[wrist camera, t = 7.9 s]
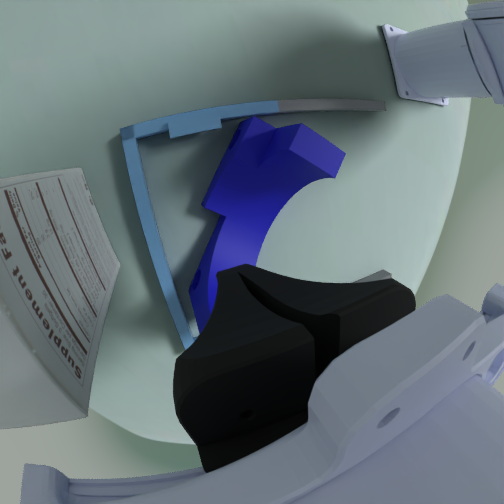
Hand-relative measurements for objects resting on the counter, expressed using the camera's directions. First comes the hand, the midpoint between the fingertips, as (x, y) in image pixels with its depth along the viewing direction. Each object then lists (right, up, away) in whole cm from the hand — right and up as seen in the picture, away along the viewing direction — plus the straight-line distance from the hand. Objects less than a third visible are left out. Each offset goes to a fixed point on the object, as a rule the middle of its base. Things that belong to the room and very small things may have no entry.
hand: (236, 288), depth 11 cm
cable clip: (-1, +4, +7) cm, 8 cm away
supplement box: (-12, +3, +3) cm, 13 cm away
